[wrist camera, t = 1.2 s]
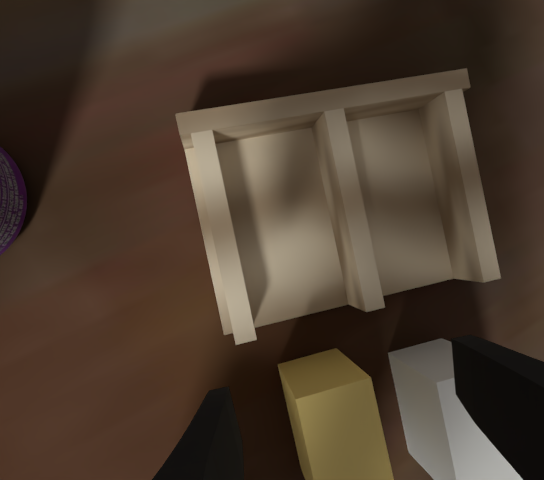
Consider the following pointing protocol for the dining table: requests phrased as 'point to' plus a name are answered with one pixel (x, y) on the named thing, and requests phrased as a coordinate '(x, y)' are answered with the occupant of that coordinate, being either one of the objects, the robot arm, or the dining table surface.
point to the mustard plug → (334, 418)
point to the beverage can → (10, 200)
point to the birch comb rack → (337, 198)
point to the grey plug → (441, 417)
